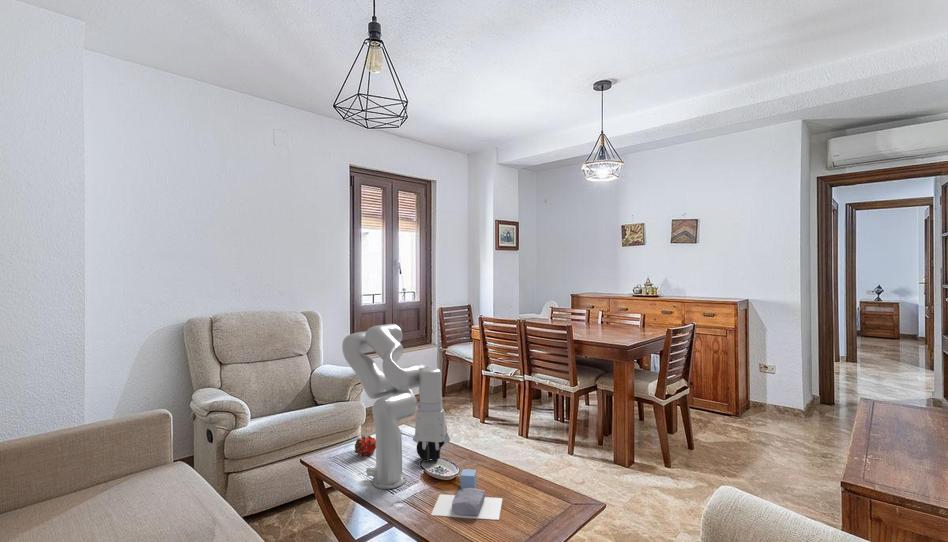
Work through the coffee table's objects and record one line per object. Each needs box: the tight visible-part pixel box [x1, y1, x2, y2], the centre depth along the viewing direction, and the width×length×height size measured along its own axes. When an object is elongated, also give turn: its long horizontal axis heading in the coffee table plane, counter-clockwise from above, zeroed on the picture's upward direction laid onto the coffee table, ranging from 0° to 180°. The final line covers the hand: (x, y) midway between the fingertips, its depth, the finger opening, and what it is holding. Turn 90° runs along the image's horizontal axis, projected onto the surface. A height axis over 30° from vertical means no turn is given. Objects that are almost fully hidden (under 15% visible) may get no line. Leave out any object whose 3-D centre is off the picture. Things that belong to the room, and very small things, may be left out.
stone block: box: [452, 487, 486, 516], centre depth 149 cm, size 12×5×10 cm
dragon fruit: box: [354, 435, 376, 458], centre depth 192 cm, size 8×8×12 cm
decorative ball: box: [416, 442, 442, 461], centre depth 186 cm, size 10×10×10 cm
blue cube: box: [460, 468, 477, 490], centre depth 163 cm, size 5×5×5 cm
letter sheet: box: [430, 493, 503, 521], centre depth 149 cm, size 22×13×1 cm, turn 81°
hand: (431, 459), depth 151 cm, fingers closed
